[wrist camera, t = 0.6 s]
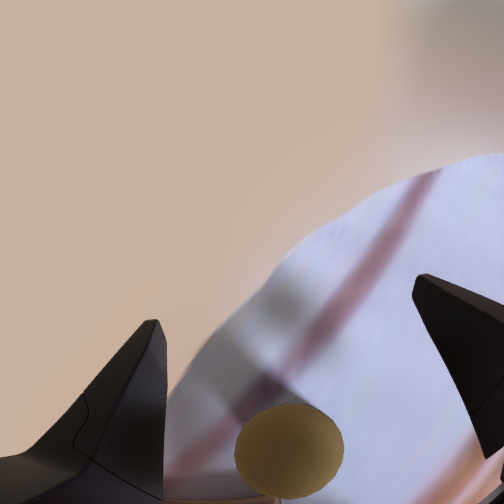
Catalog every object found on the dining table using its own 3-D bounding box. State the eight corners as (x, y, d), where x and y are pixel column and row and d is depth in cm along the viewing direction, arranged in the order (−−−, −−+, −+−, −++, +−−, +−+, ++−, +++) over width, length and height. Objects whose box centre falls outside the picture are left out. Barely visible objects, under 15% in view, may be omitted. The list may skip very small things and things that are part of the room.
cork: (350, 426, 18) (384, 429, 9) (306, 485, 15) (302, 534, 6) (287, 392, 20) (268, 367, 12) (245, 448, 18) (191, 465, 9)
